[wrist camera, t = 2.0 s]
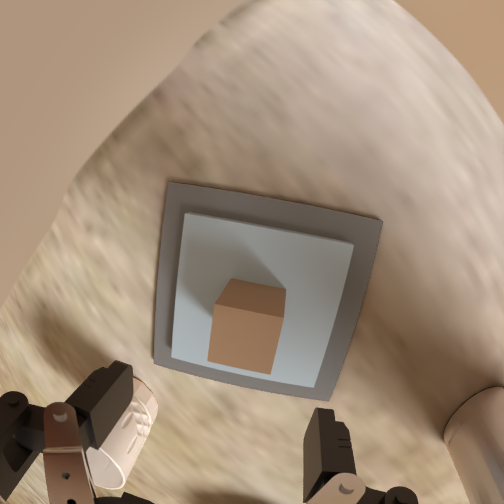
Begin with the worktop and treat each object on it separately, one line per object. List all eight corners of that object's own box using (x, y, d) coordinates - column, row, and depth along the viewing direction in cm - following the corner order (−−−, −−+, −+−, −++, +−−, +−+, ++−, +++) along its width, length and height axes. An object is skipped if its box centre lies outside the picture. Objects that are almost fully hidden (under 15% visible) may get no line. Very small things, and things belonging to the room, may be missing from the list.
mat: (381, 220, 22) (383, 221, 22) (328, 398, 26) (329, 401, 25) (170, 181, 23) (168, 181, 23) (155, 361, 27) (153, 363, 27)
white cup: (173, 393, 28) (132, 465, 18) (153, 435, 30) (117, 499, 20) (104, 353, 28) (46, 409, 18) (93, 400, 30) (46, 453, 20)
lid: (351, 242, 22) (370, 263, 16) (313, 380, 25) (315, 428, 19) (189, 212, 23) (156, 222, 17) (175, 351, 26) (148, 390, 20)
